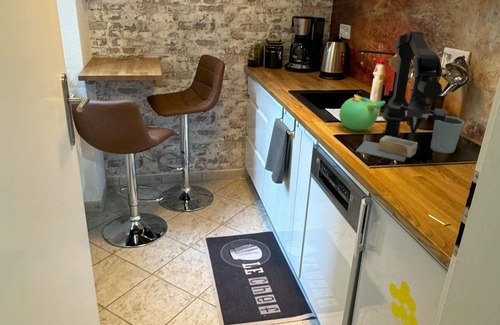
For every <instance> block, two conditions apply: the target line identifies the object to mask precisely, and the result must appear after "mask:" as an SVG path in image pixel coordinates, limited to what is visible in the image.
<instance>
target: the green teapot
mask: <svg viewBox="0 0 500 325" xmlns="http://www.w3.org/2000/svg"><path fill="white" fill-rule="evenodd" d="M385 104H386V101H385V100H381V101H377V102H374V101H373V100H371V99H369V98H367V97H364V96H360V95H358V94H354V95H353V97H350V98H349V99H347V100H345V101H344V103H343V104H342V105H341V107H340V109H339V115H338V116H339V120H340V122H341V124H342V125H343V126H344V127H346V128H347V129H349V130H353V131H357V132H358V131H359V132H360V131H365V130H367V129H369V128H371V127H372V126H373V125H374V124H375V123H376V121H377V119H378V115H379V109H381V108H382V107H383V106H384V105H385Z"/></svg>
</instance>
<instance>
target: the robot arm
mask: <svg viewBox="0 0 500 325" xmlns="http://www.w3.org/2000/svg"><path fill="white" fill-rule="evenodd" d="M394 43H395V44H394V46H395V54H396V56H397V58H398V62H397V63H398V64H397V69H396V77H395V82H394V88H393V95H392V97H391V98H390V99H389V100H388V103H387V105H386V107H385V109H384V111H383V113H382V119H383V120H384V121H386V122H385V129H384V130H383V132H382V133H381V134H382V135H384V136H391V137H395V138H398V137H399V136H400V135H401V133H402V132H401V131H400V128H401V124H402V122H404V123H405V122H406V121H407V120H408V123H409V129H410V133H411V134H410V135H412V136H414V135H415V134H416V132H417V130H418V128H419V127H420V125H421V123H422V122H424V121H427V120H428V118H429V117H432V119H433V120H434V121H435V120H439V121H445V119H446V116H448V110H447V109H444V108H437V107H436V108H434V110H431V103H429V101H430V100H431V99H437V98H438V97H439V96H440V95H441V94H442V91H443V86H442V84H441V83H440V82H439V81H438V80H439V78H441V77H442V73H443V68H442V63H441V58H440V57H439V55H438V54H437V53H436V51H433V50H430V48H429V46H428V44H427V41H426V39H425V38H424V32H422V31H421V30H420V31H419V30H418V31H417V30H410V31H408V32H406V33H405V34H402V35H399V36H398V37H397V38H396V40H395V42H394ZM412 60H413V64H412V63H411V62H412ZM411 64H412V65H413V72H414V79H413V85H412V90H411V95H410V100H409V102H408V101H407V98H406V95H407V89H408V81H409V77H410V69H411ZM429 99H430V100H429ZM415 121H416V122H415Z"/></svg>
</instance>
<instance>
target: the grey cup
mask: <svg viewBox="0 0 500 325" xmlns="http://www.w3.org/2000/svg"><path fill="white" fill-rule="evenodd" d="M464 125H465V121H464V120H463V119H461V118H459V117H456V116H448V115H447V116H446V119H445V121H439V120H434V123H433V129H432V138H431V140H430V141H431V142H430V149H431V150H432V151H434V152H437V153H441V154H453V153H454V152H455V150H456V147H457V143H458V142H459V138H460V134H461V132H462V130H463V128H464Z"/></svg>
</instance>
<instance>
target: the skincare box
mask: <svg viewBox="0 0 500 325" xmlns="http://www.w3.org/2000/svg"><path fill="white" fill-rule="evenodd" d="M378 143H379V150H382V151H386V152H390V153H394V154H398V155H402V156H406V157H407V158H412V157H414V155H415V154H416V153H417V149H418V142H417V141H412V140H407V139H402V138H400V137H399V138H398V137H396V136H390V135H384V136H383V137H381V138H380V139H379V142H378Z"/></svg>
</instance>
